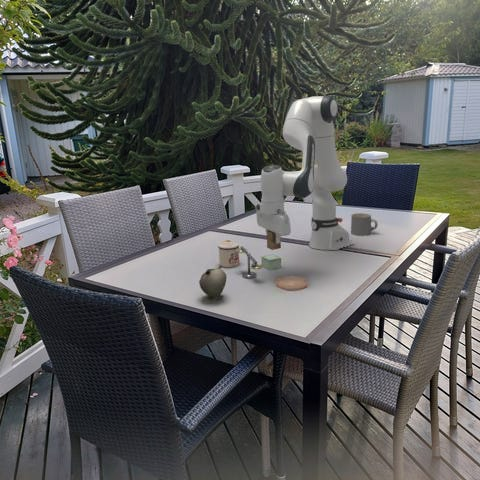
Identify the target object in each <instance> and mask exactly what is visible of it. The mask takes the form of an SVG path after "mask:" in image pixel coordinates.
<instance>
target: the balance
mask: <svg viewBox="0 0 480 480" xmlns="http://www.w3.org/2000/svg"><path fill="white" fill-rule="evenodd" d="M236 252H238V253H239V254H245V255H246V257H247V271H244V272H242V273H241V277H242V278H243V279H254V278H257V276H258V275H257V272H255V271H251V269H252V270H261V269H262V268H263V266H262V264H259V263H258V261H257V260H256V259H255V258H254V256H252V254H251V253H250V252H249V251H248V249H247V248H245V247H244V246H239V249H237V250H236ZM251 261H252V263H251Z"/></svg>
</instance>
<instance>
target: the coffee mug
mask: <svg viewBox="0 0 480 480" xmlns="http://www.w3.org/2000/svg"><path fill="white" fill-rule="evenodd" d="M350 220H351V222H350V234H351V235H353V236H358V237H366V236H370V235H371V231H374V230H377V228H378V220H377V219H375V218H372V215H371V214H369V213H366V212H363V213H362V212H356V213H355V212H354V213H352V214H351V219H350ZM372 222H373V223H374V226H372ZM369 234H370V235H369ZM365 235H366V236H365Z"/></svg>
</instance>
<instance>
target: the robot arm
mask: <svg viewBox="0 0 480 480" xmlns="http://www.w3.org/2000/svg"><path fill="white" fill-rule="evenodd" d="M338 108H339V107H338V103H337V100H336V99H335V97H333V96H332V95H331V96H330V95H324V96H323V95H322V96H319V95H317V96H316V95H315V96H309V97H304V98H301V99H300V98H297V99H294V100H292V101H291V102H290V103H289V105H288V107H287V114H286V116H285V120H284V124H283V127H282V137H283V139H284V141H285V143H287V144H288V145H289V146H290V147H292V148H294V149H297V150H299V151H301V152H302V160H301V161H302V162H301V170H299V171H285V170H283V169H282V167H281V165H279V164H271V165H266V166H264V167H263V168H262V169H261V174H260V192H261V199H260V200H261V201H260V203H256V204H255V210H256V213H255V214H256V224H257V225H258V227H260V228H263V229H265V233H266V234H267V231H268V230H270V231H272V232H275V235H276V238H275V239H274V240H275V243H277V244H278V243H280V238H282V236H284V237H285V236H289V235H290V234H291V231H292V229H291V221H290V217H289V215H288V214H287V212H286V211H285V198H284V196H285V197H296V198H302V199H306V198H307V197H309V196H310V198H311V203H312V205H311V206H312V209H311V210H312V216H311V221H310V222H311V234H310V239H309V243H308V246H309V248H312V249H316V250H322V251H323V250H325V251H338V250H341V249H340V248H342V249H344V248H343V247H345V248H347V246H348V247H350V245H351V246H353V245H355V242H354V240H352V239H350V233H349V231H347V229H345V228H343V227H342V226H341V225H340V224H339V223H342V222H343V218H340V217H336V215H337V202H336V200H335V198H334V196H333V195H332V192H339V191H342V190H343V189H344V188H345V187H346V185H347V184H348V175H347V173H346V172H345V171H344V169H343V168H342V166H341V164H340V161H339V159H338V155H337V150H336V139H335V138H336V137H335V126H334V120H335V118H336V116H337V115H338ZM315 162H316V164H315Z"/></svg>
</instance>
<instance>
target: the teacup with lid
mask: <svg viewBox="0 0 480 480" xmlns="http://www.w3.org/2000/svg"><path fill="white" fill-rule="evenodd" d="M237 249H240V245H239V243H238V242H235V241H233V240H231V238H226V239H225V241H223V242H220V243H219V244H218V258H219V259H218V260H219V267H220V266H221V268H235V267H236V266H238V265H239V264H240V255H239V254H240V253H238V252H236V250H237Z"/></svg>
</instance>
